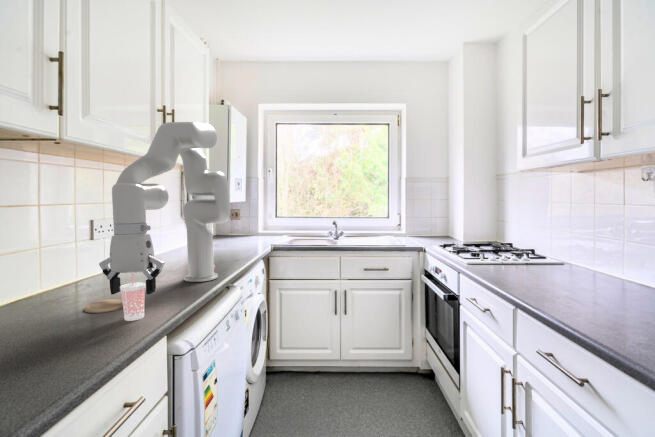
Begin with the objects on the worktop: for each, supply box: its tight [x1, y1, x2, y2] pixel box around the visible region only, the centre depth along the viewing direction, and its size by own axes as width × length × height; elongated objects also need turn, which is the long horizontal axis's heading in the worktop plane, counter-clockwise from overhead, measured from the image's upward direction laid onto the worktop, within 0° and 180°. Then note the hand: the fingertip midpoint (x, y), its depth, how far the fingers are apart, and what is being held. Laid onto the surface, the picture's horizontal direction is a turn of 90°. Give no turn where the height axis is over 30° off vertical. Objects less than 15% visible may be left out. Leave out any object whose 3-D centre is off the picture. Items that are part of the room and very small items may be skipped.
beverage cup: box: [120, 273, 146, 322], centre depth 92 cm, size 6×6×14 cm
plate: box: [84, 298, 123, 314], centre depth 102 cm, size 11×11×1 cm
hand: (133, 293), depth 92 cm, fingers open, 9 cm apart
